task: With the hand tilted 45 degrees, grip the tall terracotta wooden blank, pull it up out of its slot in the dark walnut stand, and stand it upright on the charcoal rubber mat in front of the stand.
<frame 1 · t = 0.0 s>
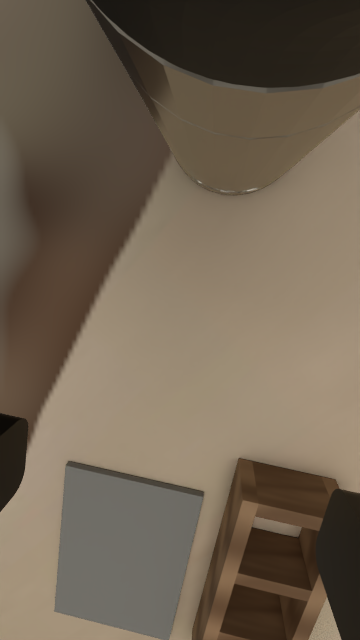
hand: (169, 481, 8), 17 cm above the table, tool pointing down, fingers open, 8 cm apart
stand: (255, 563, 31), on the table
mat: (122, 554, 32), on the table
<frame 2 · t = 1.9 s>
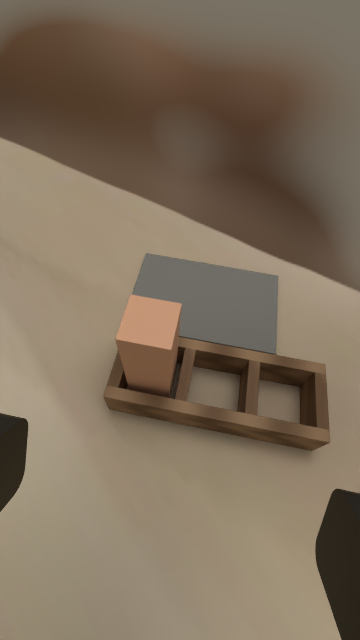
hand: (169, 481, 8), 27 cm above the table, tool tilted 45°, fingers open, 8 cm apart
stand: (213, 393, 37), on the table
mat: (204, 301, 44), on the table
blank: (154, 381, 38), resting in stand
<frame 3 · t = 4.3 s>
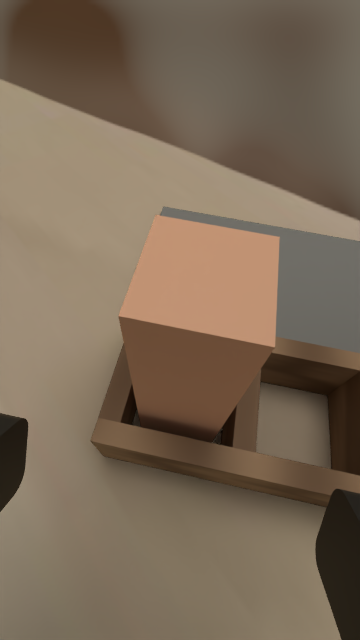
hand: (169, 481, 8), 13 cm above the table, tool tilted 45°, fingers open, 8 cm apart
stand: (285, 428, 21), on the table
mat: (255, 276, 29), on the table
blank: (181, 405, 22), resting in stand
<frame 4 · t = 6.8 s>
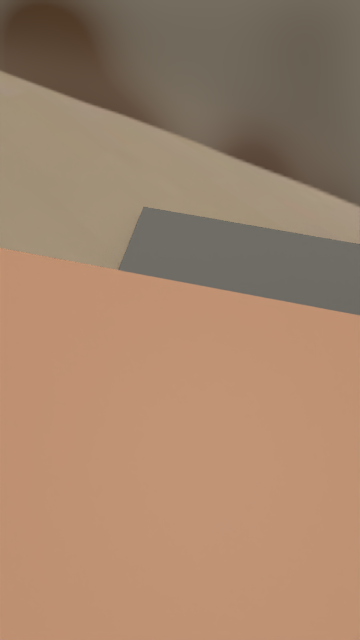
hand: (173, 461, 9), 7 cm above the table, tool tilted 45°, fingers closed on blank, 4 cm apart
mat: (271, 306, 20), on the table
blank: (159, 532, 13), resting in stand, touching gripper
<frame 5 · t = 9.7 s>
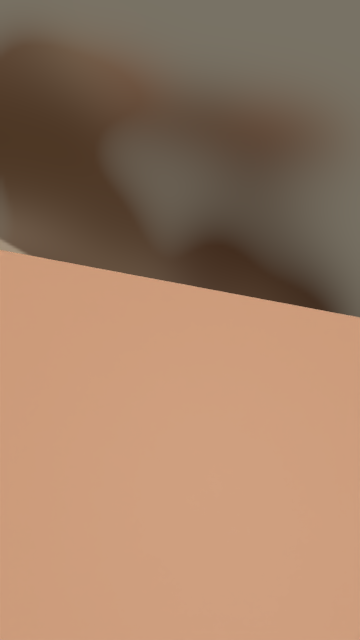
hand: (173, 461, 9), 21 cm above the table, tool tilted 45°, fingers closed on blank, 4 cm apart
blank: (159, 533, 13), point 15 cm above the table, touching gripper
when the fingers open (9 cm above the table, at t = 12.9 s): blank drops 1 cm, resting on mat.
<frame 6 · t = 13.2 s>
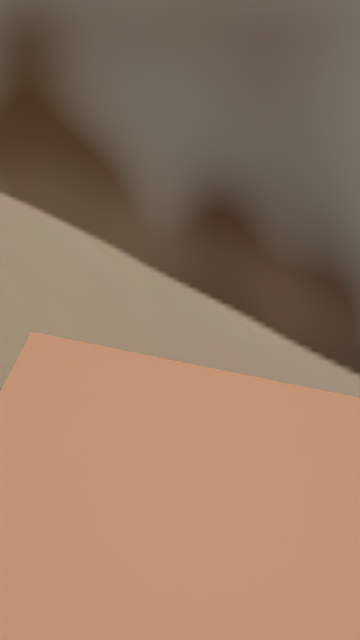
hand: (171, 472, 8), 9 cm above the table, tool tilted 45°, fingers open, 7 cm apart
blank: (160, 533, 15), point 1 cm above the table, touching mat
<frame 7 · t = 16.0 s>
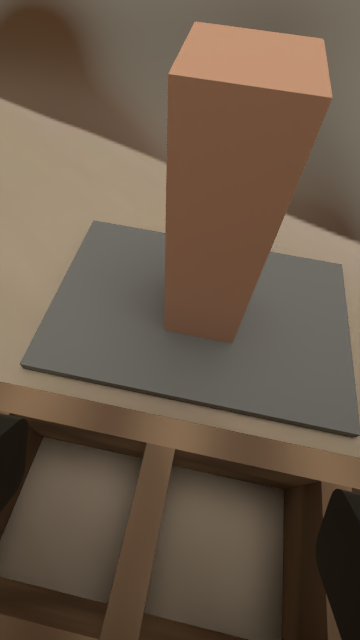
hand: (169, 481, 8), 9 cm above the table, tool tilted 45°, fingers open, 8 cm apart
stand: (220, 545, 15), on the table
mat: (201, 312, 22), on the table
blank: (203, 308, 22), point 1 cm above the table, touching mat
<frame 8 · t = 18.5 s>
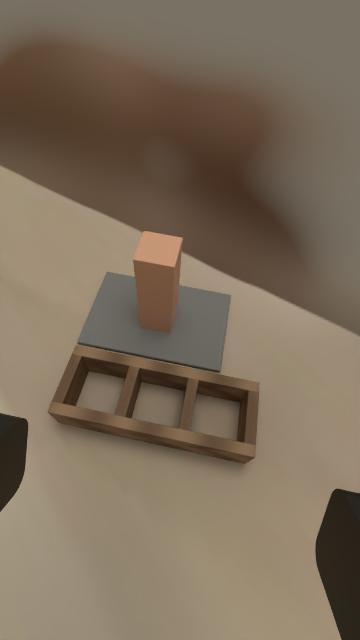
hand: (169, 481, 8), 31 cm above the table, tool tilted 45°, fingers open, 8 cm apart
stand: (158, 408, 40), on the table
mat: (158, 319, 47), on the table
blank: (159, 317, 46), point 1 cm above the table, touching mat
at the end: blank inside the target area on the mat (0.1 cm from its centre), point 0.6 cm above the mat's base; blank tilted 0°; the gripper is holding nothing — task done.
